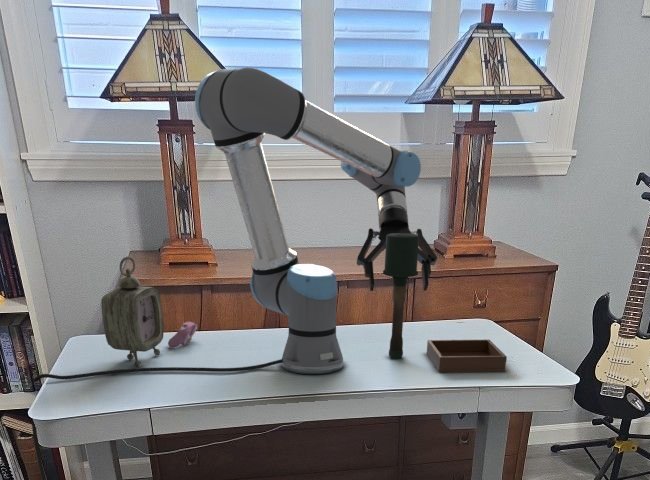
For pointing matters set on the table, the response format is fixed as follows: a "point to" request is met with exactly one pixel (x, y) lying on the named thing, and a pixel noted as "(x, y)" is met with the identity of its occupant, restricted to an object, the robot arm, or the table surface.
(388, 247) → the potato masher grenade
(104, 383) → the table surface
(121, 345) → the tabletop clock
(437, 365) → the holder
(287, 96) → the robot arm
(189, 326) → the pink toy shoe
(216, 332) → the table surface
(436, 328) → the table surface
